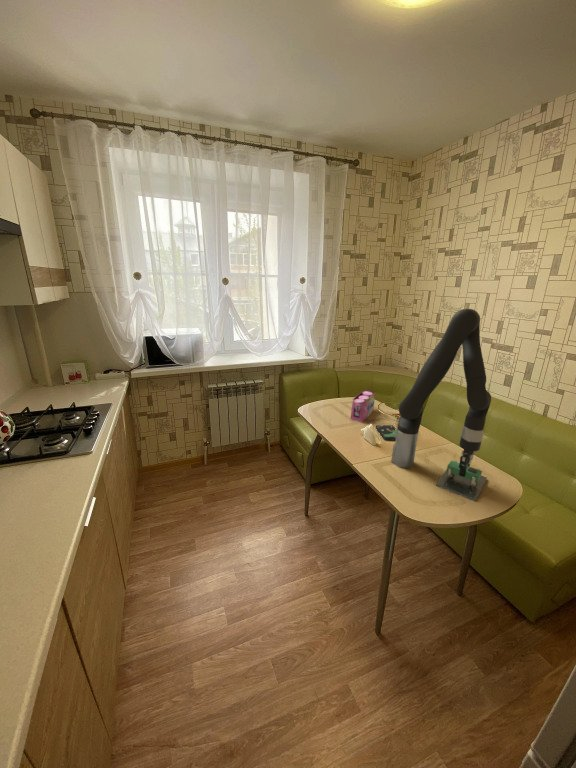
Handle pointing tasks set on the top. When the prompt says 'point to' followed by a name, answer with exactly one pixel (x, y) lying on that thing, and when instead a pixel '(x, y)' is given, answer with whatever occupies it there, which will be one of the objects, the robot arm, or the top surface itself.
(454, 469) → the board
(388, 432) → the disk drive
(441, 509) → the top surface
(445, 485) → the chassis
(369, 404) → the pink multipack of cans
